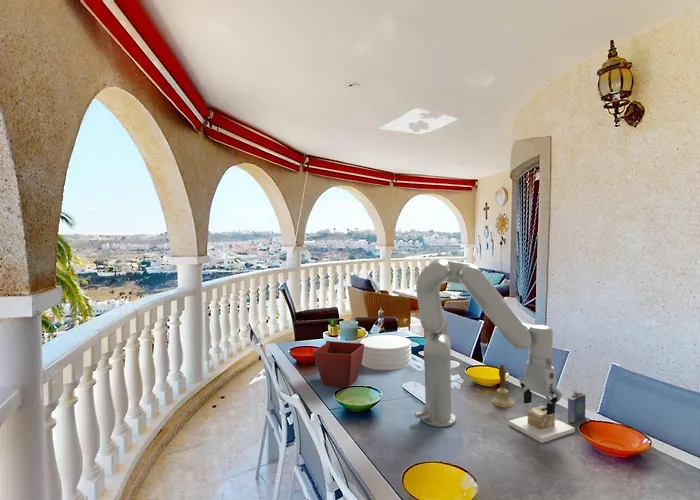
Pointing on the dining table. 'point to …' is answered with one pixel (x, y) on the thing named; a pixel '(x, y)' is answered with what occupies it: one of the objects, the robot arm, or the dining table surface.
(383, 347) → the plate stack
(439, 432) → the dining table surface
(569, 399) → the flask
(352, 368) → the plant pot
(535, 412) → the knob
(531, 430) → the shaft board
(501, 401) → the hand bell
